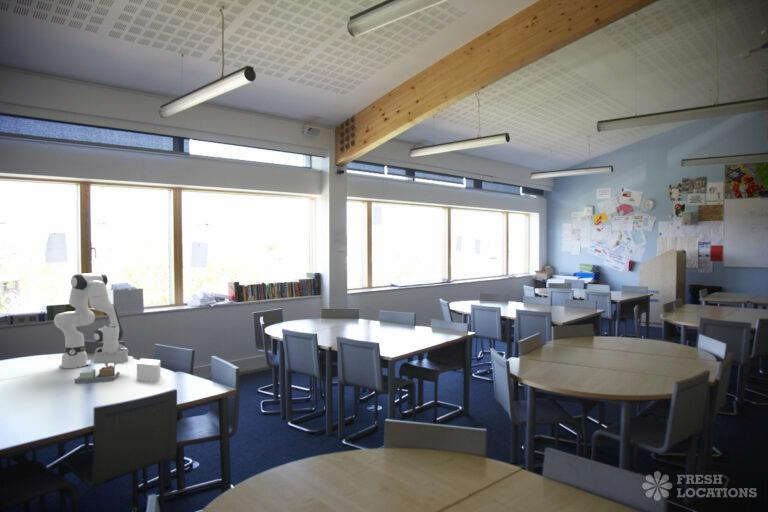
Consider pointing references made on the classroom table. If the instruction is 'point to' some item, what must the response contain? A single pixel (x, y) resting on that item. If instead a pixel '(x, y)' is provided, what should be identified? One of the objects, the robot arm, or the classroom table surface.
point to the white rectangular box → (148, 369)
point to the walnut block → (107, 371)
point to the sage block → (87, 374)
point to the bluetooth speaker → (123, 347)
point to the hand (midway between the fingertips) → (110, 369)
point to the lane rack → (96, 379)
